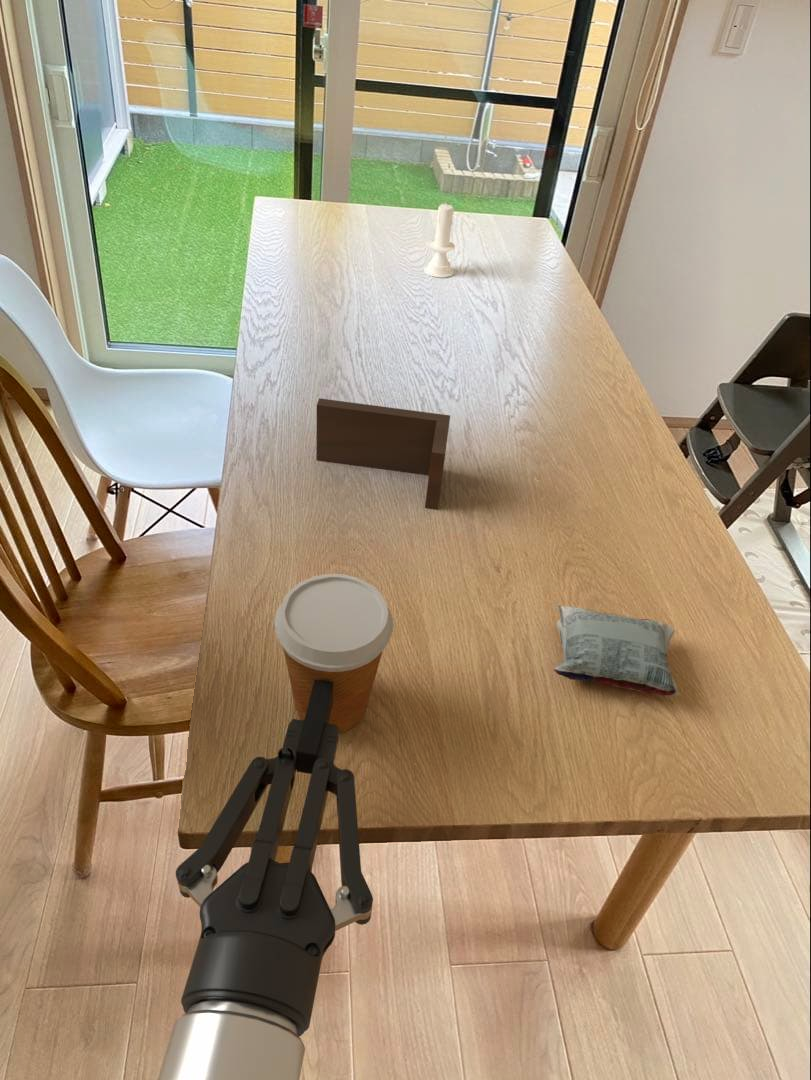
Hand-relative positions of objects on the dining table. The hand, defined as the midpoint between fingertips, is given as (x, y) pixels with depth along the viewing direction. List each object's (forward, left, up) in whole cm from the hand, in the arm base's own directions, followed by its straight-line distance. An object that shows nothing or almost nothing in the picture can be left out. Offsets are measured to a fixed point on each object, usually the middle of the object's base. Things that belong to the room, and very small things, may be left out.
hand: (323, 691), depth 62 cm
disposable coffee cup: (+2, +4, -8) cm, 9 cm away
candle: (+51, +85, -8) cm, 100 cm away
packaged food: (+29, -1, -8) cm, 30 cm away
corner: (+18, +32, -7) cm, 38 cm away
